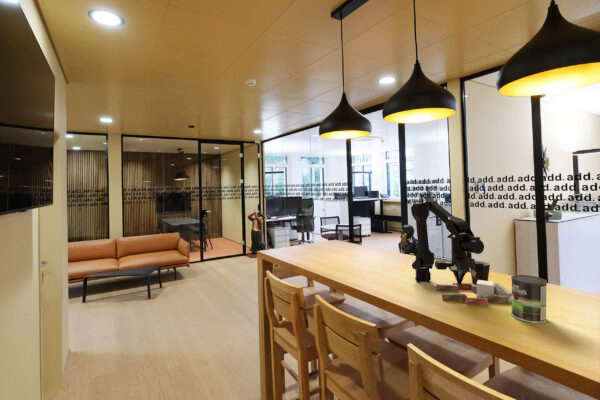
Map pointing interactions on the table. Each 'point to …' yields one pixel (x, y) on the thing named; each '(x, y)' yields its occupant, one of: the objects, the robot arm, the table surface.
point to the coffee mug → (480, 273)
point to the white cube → (485, 288)
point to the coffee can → (529, 298)
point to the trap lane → (469, 287)
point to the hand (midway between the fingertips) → (459, 284)
